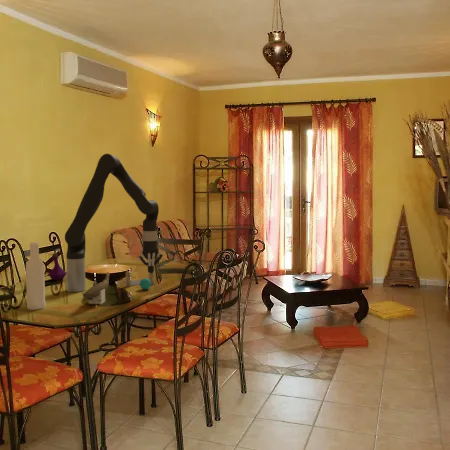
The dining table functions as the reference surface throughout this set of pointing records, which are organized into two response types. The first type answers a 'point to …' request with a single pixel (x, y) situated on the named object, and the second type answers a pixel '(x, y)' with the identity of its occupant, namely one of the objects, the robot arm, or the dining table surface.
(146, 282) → the ball
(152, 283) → the right post
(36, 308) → the bottle
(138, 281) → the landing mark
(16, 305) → the dining table surface
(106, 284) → the wood carving
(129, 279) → the left post
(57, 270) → the perfume bottle
